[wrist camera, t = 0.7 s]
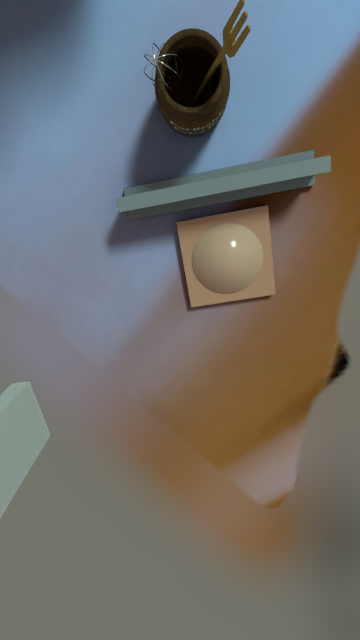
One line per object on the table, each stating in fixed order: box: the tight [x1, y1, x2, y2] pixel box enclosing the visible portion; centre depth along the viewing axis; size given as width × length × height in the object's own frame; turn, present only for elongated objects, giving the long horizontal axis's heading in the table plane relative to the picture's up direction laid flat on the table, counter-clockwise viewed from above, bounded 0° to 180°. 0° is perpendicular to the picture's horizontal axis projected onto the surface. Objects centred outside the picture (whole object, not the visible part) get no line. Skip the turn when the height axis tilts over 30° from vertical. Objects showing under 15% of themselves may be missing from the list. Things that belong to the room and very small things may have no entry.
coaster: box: [176, 205, 275, 307], centre depth 33 cm, size 9×9×1 cm
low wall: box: [116, 150, 331, 220], centre depth 29 cm, size 3×18×4 cm, turn 100°
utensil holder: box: [144, 0, 251, 137], centre depth 23 cm, size 6×6×12 cm
